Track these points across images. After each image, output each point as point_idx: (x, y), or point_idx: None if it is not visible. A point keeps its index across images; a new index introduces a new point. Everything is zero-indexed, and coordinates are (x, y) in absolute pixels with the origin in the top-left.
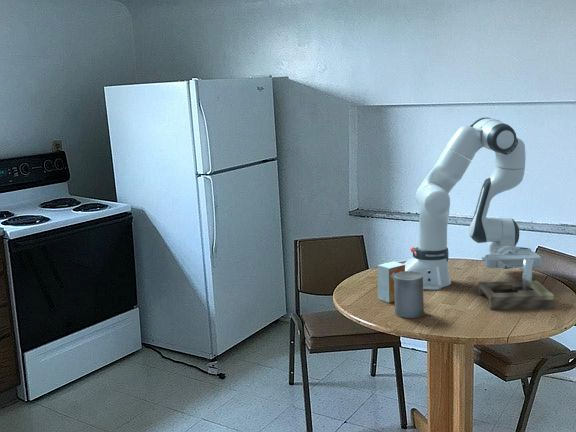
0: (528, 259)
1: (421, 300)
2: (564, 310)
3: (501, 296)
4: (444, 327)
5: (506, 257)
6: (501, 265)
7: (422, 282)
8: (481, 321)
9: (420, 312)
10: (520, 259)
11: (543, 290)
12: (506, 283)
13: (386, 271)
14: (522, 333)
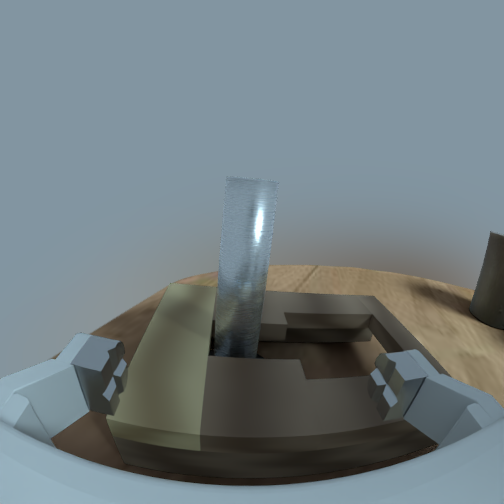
0: (248, 178)
1: (479, 279)
2: (152, 309)
3: (345, 296)
4: (415, 286)
5: (465, 500)
6: (434, 397)
7: (491, 245)
8: (368, 295)
9: (471, 301)
10: (149, 482)
11: (176, 311)
12: (336, 399)
13: None
14: (294, 267)
